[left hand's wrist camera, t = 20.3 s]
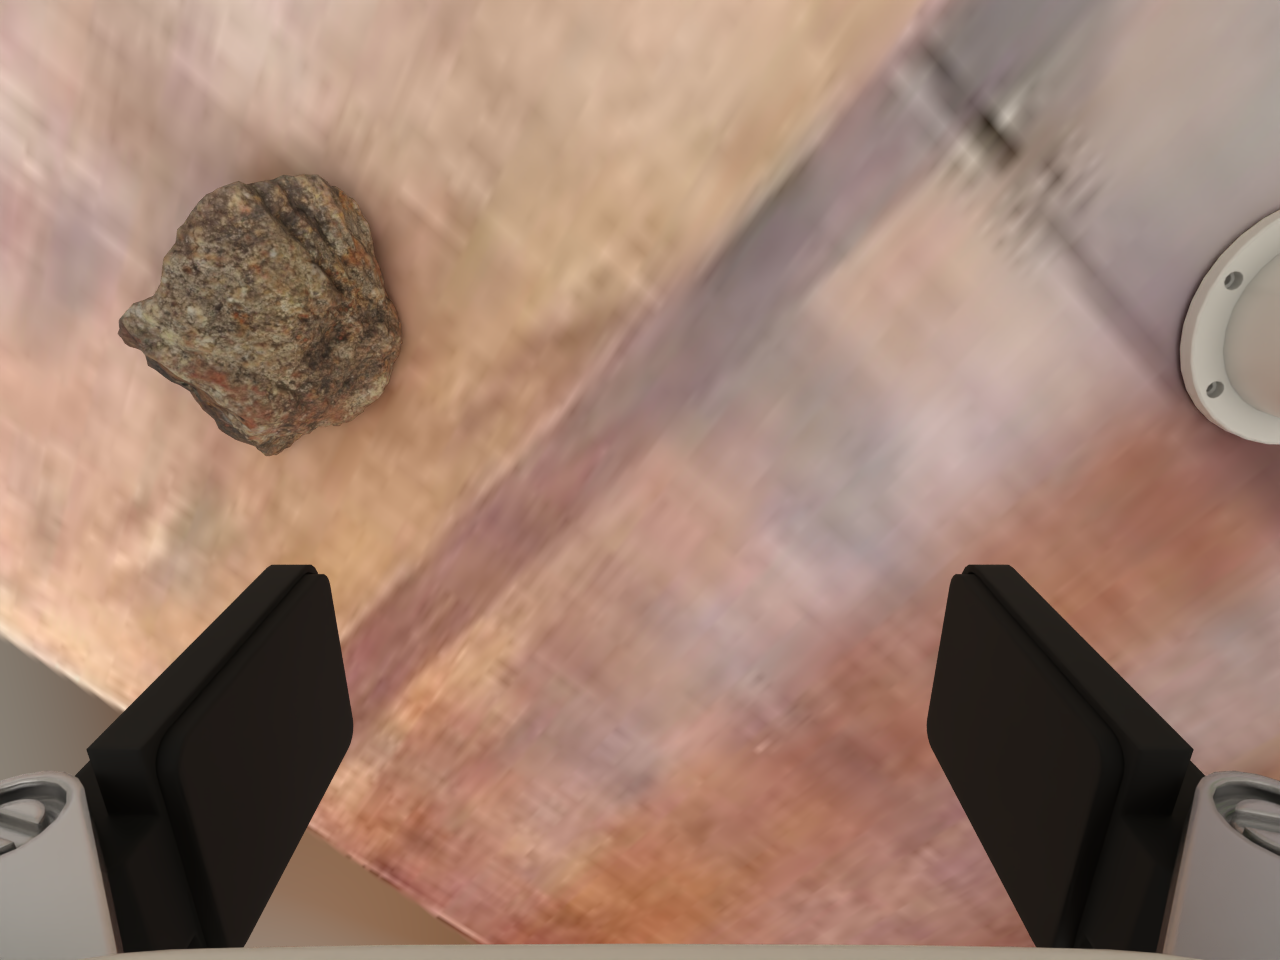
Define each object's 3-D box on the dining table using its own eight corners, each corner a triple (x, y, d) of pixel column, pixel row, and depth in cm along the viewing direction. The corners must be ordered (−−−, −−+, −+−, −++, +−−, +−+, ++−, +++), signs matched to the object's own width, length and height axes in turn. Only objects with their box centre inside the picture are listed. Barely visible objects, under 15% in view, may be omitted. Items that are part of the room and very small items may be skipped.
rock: (149, 331, 39) (288, 472, 42) (14, 375, 32) (195, 545, 34) (335, 150, 35) (475, 320, 38) (232, 149, 27) (419, 364, 30)
